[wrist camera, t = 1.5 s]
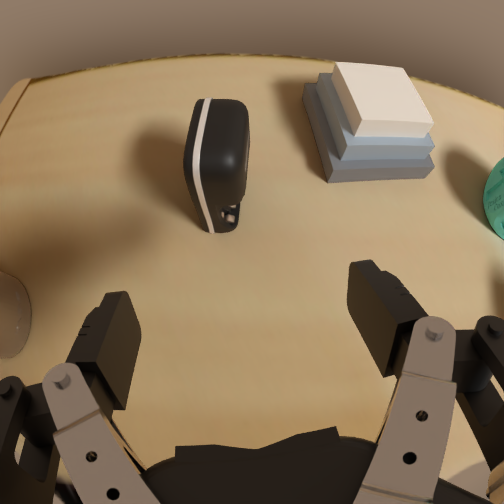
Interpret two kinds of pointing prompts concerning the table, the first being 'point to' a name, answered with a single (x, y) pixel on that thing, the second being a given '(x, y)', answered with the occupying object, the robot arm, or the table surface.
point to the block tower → (369, 124)
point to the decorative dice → (495, 198)
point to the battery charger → (217, 161)
